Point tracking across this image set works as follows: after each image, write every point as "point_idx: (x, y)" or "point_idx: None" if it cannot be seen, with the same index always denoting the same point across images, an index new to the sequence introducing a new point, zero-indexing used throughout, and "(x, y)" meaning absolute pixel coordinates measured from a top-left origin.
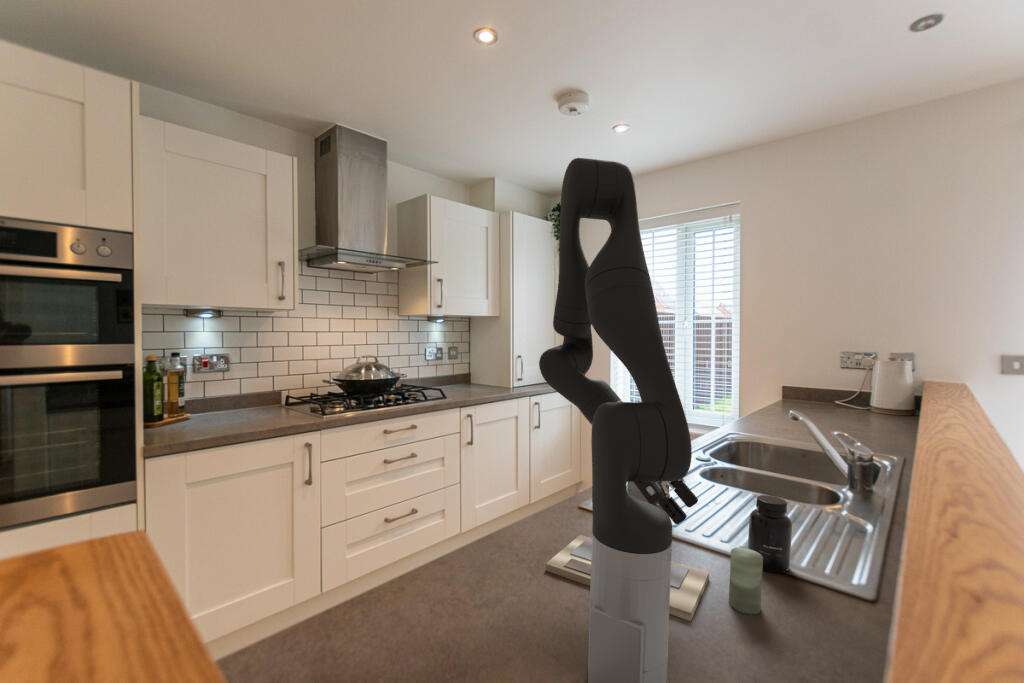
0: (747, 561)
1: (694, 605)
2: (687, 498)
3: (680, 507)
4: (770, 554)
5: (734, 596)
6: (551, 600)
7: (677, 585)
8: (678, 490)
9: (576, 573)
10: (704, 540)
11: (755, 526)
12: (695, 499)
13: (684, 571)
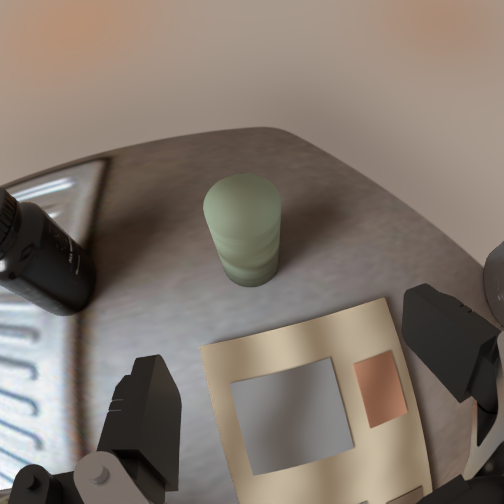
0: (277, 191)
1: (356, 306)
2: (167, 407)
3: (433, 308)
4: (78, 255)
5: (277, 260)
6: None
7: (323, 365)
8: (168, 465)
9: None
10: (51, 407)
11: (40, 265)
12: (157, 363)
13: (248, 386)
